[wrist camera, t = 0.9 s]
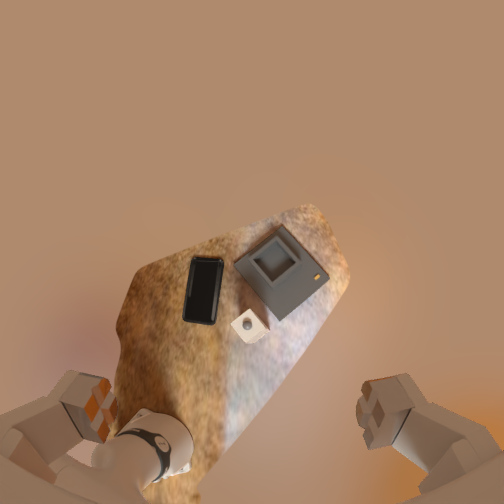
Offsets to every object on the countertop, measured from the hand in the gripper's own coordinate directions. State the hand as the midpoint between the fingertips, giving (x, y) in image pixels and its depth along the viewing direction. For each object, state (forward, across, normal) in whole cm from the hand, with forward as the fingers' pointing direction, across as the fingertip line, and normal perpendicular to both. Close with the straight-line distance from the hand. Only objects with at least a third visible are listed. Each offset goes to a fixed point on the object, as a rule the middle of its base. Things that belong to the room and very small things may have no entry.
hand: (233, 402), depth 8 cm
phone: (+52, -10, -19) cm, 57 cm away
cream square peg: (+46, +2, -25) cm, 52 cm away
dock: (+52, +7, -15) cm, 54 cm away
